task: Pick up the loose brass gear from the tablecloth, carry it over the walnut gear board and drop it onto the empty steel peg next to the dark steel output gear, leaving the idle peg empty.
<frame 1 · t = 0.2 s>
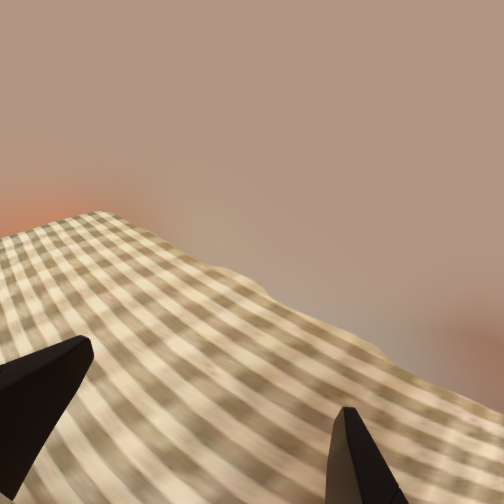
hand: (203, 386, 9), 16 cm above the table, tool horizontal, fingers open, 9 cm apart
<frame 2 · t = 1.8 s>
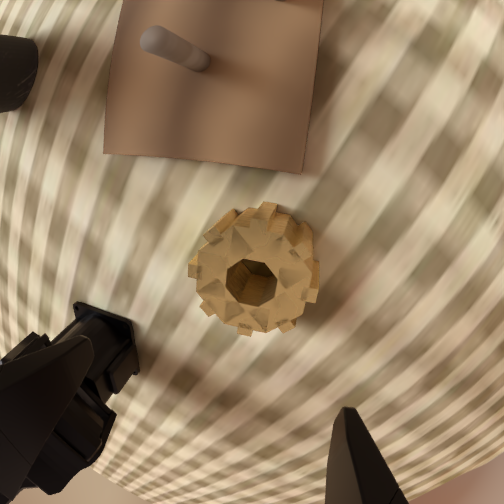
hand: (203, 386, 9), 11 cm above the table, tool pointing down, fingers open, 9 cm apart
brass gear: (262, 256, 18), on the table
travel mug: (18, 74, 17), on the table
gear board: (215, 22, 13), on the table
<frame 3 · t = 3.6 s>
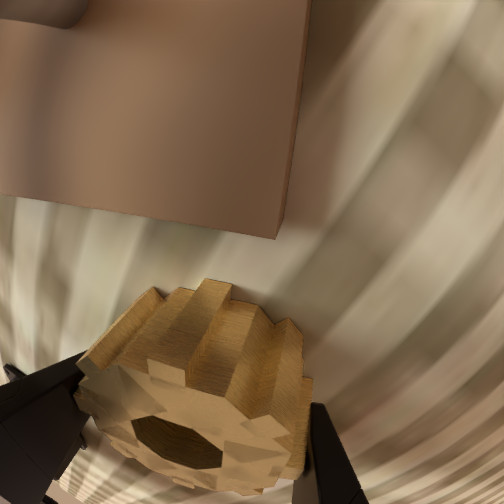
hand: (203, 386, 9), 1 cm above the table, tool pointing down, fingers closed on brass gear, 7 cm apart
brass gear: (212, 365, 10), on the table, touching gripper
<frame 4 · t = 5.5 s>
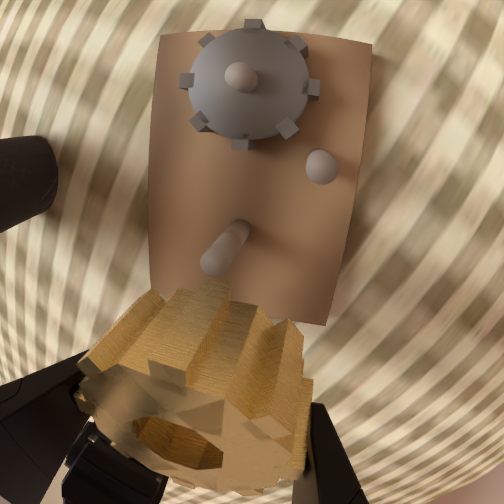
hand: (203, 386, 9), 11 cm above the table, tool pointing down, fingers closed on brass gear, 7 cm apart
brass gear: (213, 366, 10), point 10 cm above the table, touching gripper
travel mug: (35, 174, 21), on the table
gear board: (250, 173, 17), on the table
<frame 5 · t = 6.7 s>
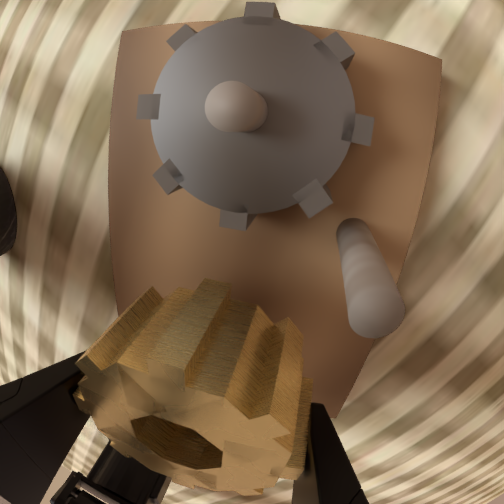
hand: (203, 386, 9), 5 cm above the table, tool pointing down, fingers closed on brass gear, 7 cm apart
brass gear: (212, 365, 10), point 4 cm above the table, touching gripper
gear board: (250, 239, 13), on the table
when the fingers open (5 cm above the table, at t = 7.7 s): brass gear drops 2 cm, resting on gear board.
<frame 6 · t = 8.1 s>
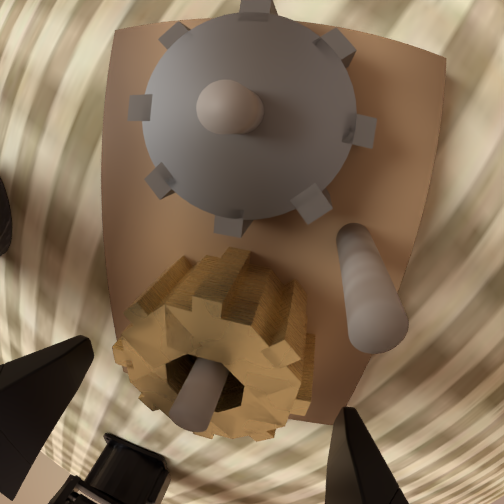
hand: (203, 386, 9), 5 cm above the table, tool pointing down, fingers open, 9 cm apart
brass gear: (231, 325, 12), point 1 cm above the table, touching gear board
gear board: (247, 244, 12), on the table
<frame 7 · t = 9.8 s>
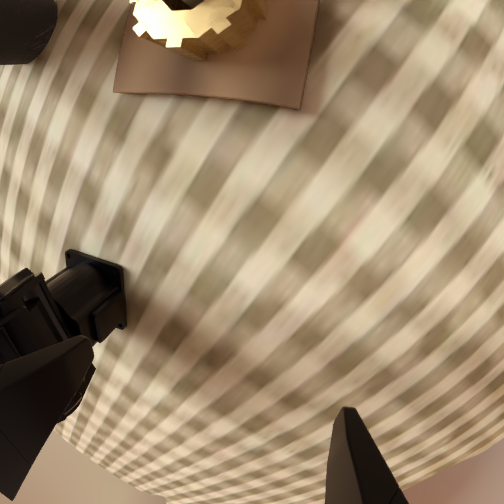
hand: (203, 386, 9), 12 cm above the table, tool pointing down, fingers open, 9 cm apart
brass gear: (210, 11, 13), point 1 cm above the table, touching gear board
travel mug: (35, 31, 16), on the table
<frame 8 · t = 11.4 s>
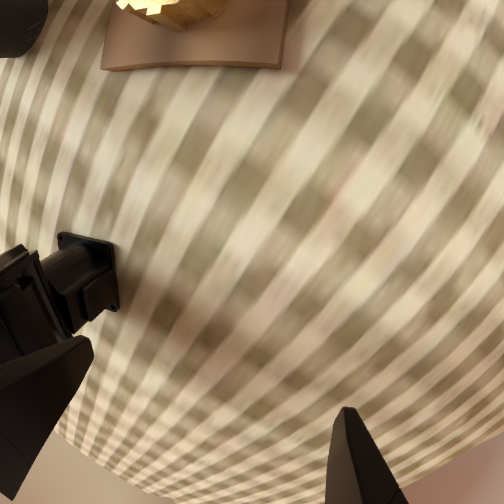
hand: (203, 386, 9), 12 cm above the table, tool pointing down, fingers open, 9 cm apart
travel mug: (27, 26, 16), on the table
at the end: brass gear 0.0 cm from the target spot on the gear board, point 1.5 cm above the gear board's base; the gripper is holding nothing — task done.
